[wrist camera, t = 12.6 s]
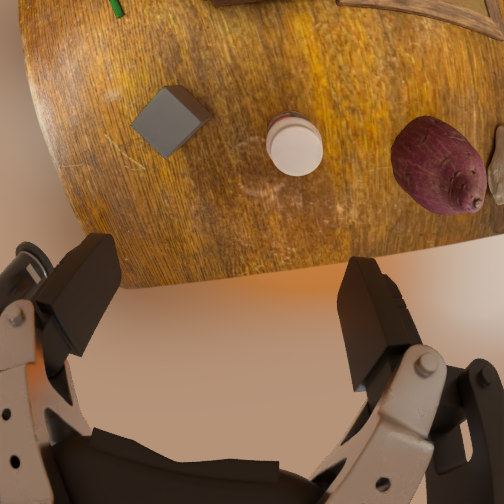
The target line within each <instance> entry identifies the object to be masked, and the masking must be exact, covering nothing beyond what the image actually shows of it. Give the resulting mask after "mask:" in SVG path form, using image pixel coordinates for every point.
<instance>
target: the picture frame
mask: <svg viewBox="0 0 504 504" xmlns="http://www.w3.org/2000/svg"><path fill="white" fill-rule="evenodd" d="M336 2H337V5H339V6H359V7H371V8H380V9H388V10H395V11H401V12H407V13H412V14H417V15H422V16H426V17H430V18H434V19H438V20H442V21H446V22H449V23H453V24H456V25H459V26H462V27H465V28H468V29H471V30H474V31H477V32H479V33H482V34H485V35H487V36H489V37H492V38H494V39H497V40H499V41H504V23H503V19H502V15H501V11H500V8H499V4H498V1H497V0H336Z"/></svg>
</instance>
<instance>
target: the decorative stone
mask: <svg viewBox="0 0 504 504" xmlns="http://www.w3.org/2000/svg"><path fill="white" fill-rule="evenodd" d="M488 184H489V188H490V191H491V193H492V194H493V197H494V199H495V202H496V204H498V205H501V204H504V127H503V126H499V127H498V128H497V131H496V149H495V152H494V155H493V157H492V161H491V163H490V164H489V166H488Z"/></svg>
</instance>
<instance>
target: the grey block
mask: <svg viewBox="0 0 504 504" xmlns="http://www.w3.org/2000/svg"><path fill="white" fill-rule="evenodd" d="M211 117H212V114H211V113H210V112H209V111H208V110H207V109H206V108H205V107H204V106H202V105H201V104H200V103H199V102H198V101H197V100H196V99H195V98H194V97H193V96H192V95H191V94H190V93H189V92H188V91H187V90H186V89H185V88H184V87H183V86H182V85H172V86H163V87H162V89H161V90H160V91H159V92H158V93H157V94H156V95H155V96H154V97H153V98H152V100H151V101H150V102H149V103H148V104H147V105H146V106H145V108H144V109H143V110H142V111H141V112H140V114H139V115H138V116H137V117H136V118H135V120H134V121H133V122H132V123H131V125H130V126H131V127H132V128H133V129H134V130H135V131H136V132H137V133H138V134H140V135H141V136H142V137H143V138H144V139H145V140H146V141H147V142H148V143H149V144H150V145H151V146H152V147H153V148H154V149H155V150H156V151H157V152H158V153H159V154H160V155H161V156H162V157H163V158H164V159H166V158H168V157H169V156H170V155H171V154H173V153H174V152H175V151H176V150H178V149H179V148H180V147H181V146H182V145H183V144H184V143H185V142H186V141H187V140H188V139H189V138H190V137H191V136H192V135H193V134H194V133H195V132H197V131H198V130H199V129H200V128H201V127H202V126H203V125H204V124H205V123H206V122H207V121H208V120H209V119H210V118H211Z"/></svg>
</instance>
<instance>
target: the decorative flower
mask: <svg viewBox="0 0 504 504" xmlns="http://www.w3.org/2000/svg"><path fill="white" fill-rule="evenodd" d="M109 1H110V3H111V5H112V8H113V10H114V12H115V15H116V17H117V18H120V17H122V16H123V13H122V10H121V8H120V5H119V3H118V1H117V0H109Z"/></svg>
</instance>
